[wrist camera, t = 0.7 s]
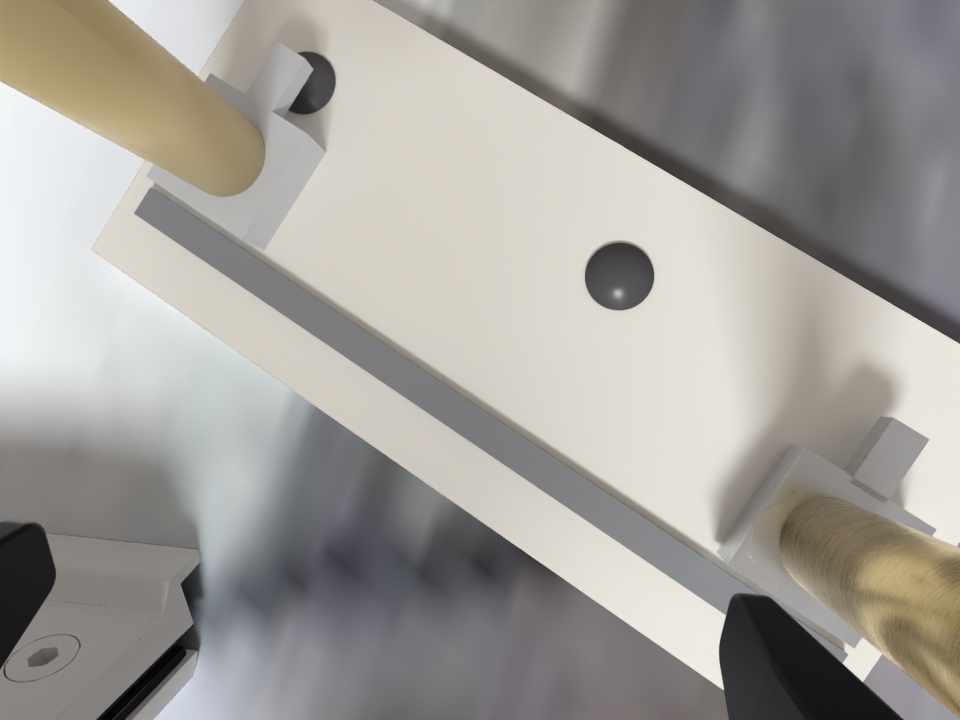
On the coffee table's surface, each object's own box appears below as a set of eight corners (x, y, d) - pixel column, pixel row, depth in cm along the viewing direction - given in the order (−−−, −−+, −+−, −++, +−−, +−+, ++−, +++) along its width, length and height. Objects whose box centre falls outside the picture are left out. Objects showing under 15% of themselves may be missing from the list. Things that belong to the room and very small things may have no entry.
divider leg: (833, 629, 21) (1329, 1074, 7) (716, 551, 21) (979, 833, 8) (948, 462, 21) (1673, 609, 7) (826, 388, 21) (1290, 395, 8)
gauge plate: (800, 732, 22) (1288, 1441, 7) (112, 255, 26) (-477, 86, 11) (1029, 400, 22) (2057, 433, 7) (291, -35, 26) (-76, -610, 11)
